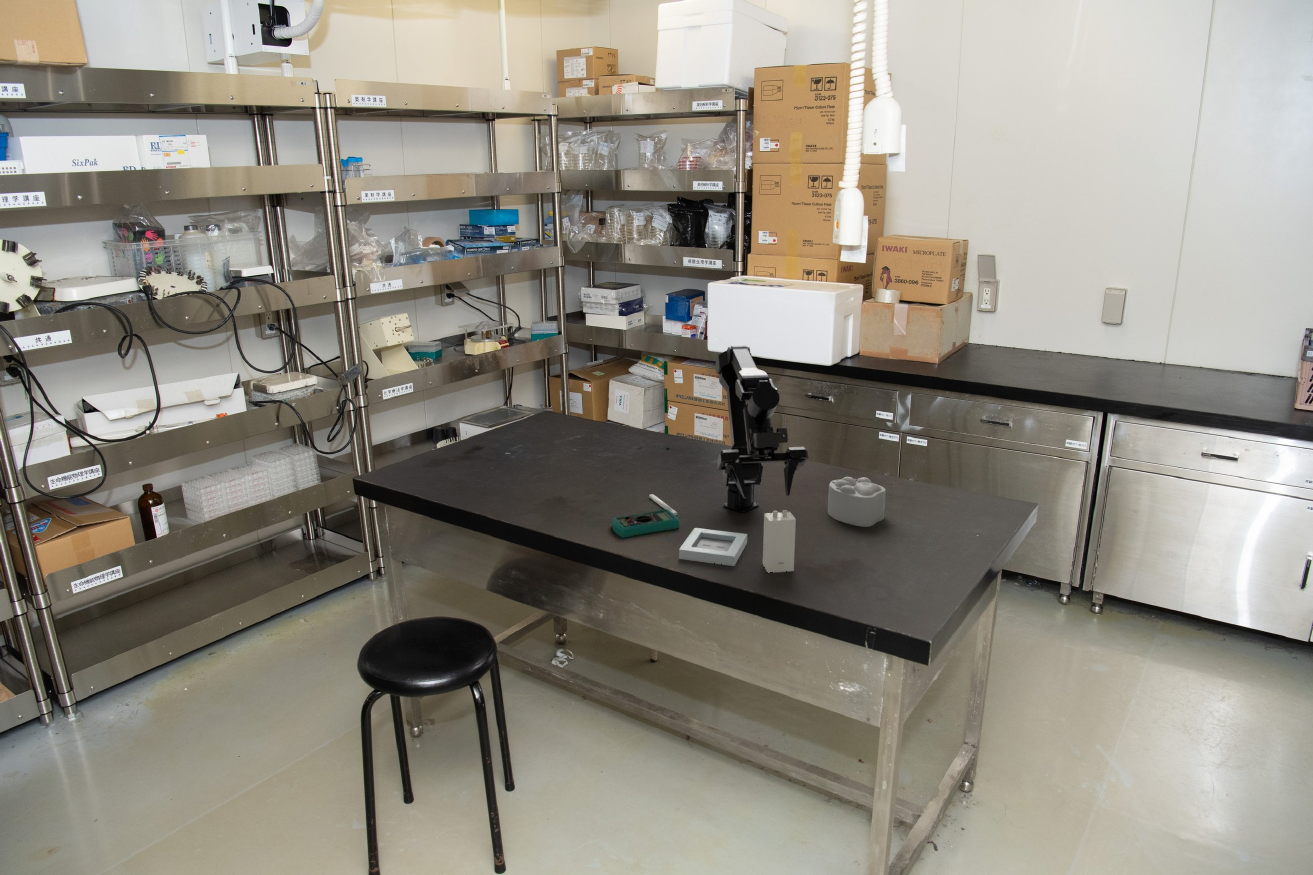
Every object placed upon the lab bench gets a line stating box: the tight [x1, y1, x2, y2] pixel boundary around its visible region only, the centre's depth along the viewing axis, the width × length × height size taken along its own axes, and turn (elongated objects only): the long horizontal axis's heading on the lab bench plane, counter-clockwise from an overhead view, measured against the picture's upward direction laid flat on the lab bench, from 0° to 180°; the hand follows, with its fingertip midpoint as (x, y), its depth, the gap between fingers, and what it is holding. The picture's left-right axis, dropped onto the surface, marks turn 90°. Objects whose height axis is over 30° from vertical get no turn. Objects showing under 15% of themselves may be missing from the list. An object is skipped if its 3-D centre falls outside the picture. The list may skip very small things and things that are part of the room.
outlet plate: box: [678, 527, 748, 567], centre depth 187 cm, size 12×12×2 cm
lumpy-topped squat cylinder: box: [827, 476, 887, 528], centre depth 205 cm, size 10×13×9 cm
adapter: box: [762, 509, 797, 574], centre depth 178 cm, size 4×6×13 cm
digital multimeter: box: [611, 508, 680, 538], centre depth 200 cm, size 7×15×3 cm, turn 112°
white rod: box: [649, 493, 678, 516], centre depth 212 cm, size 13×1×1 cm, turn 26°
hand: (766, 496), depth 182 cm, fingers open, 9 cm apart
